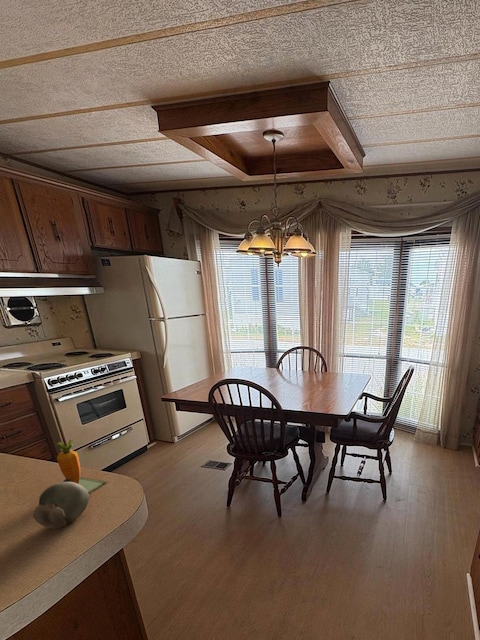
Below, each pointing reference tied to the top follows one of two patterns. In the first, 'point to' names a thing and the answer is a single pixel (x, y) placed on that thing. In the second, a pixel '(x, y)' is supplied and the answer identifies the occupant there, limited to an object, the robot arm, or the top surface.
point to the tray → (90, 484)
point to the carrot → (69, 462)
